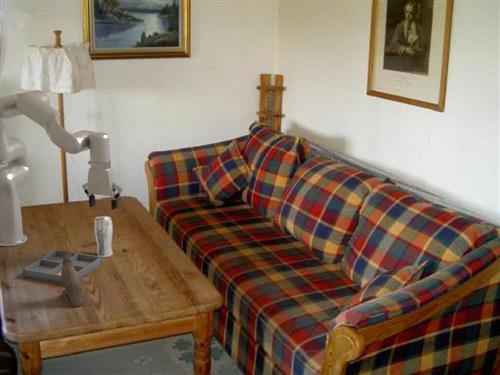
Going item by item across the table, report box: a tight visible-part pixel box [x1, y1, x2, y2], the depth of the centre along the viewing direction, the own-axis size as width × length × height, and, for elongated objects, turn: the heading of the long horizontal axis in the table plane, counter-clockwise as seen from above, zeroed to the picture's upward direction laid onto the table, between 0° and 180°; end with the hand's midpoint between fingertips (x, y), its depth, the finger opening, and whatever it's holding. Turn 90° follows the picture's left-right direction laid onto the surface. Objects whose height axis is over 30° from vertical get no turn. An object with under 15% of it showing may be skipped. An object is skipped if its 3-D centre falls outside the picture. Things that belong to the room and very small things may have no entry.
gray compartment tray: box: [23, 249, 103, 285], centre depth 239 cm, size 20×20×3 cm
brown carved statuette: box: [61, 250, 87, 308], centre depth 216 cm, size 12×6×18 cm, turn 32°
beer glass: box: [94, 215, 114, 258], centre depth 253 cm, size 7×7×15 cm
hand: (103, 207), depth 249 cm, fingers open, 9 cm apart
